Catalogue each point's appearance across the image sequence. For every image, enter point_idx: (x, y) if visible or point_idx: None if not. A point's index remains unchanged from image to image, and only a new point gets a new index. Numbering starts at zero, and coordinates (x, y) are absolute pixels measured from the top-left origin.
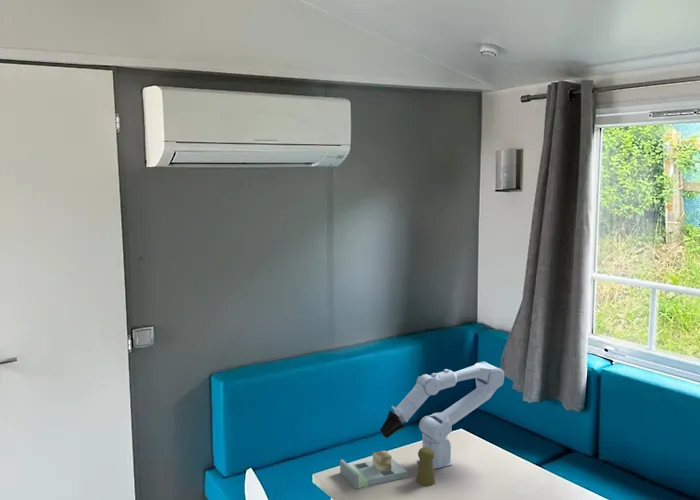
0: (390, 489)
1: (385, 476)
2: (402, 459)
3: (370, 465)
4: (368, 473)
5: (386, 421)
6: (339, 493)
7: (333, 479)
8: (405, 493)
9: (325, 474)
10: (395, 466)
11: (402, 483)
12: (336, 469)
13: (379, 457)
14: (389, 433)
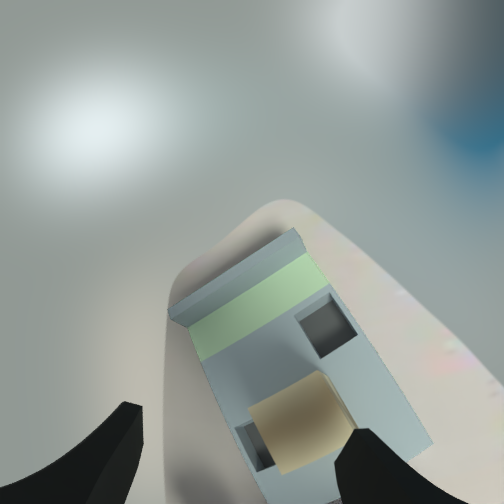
0: (191, 442)
1: (231, 432)
2: (456, 484)
3: (331, 365)
4: (253, 362)
5: (54, 469)
6: (174, 281)
7: (256, 244)
8: (169, 483)
9: (289, 213)
10: (328, 478)
11: (234, 490)
12: (331, 236)
13: (257, 409)
14: (351, 495)
